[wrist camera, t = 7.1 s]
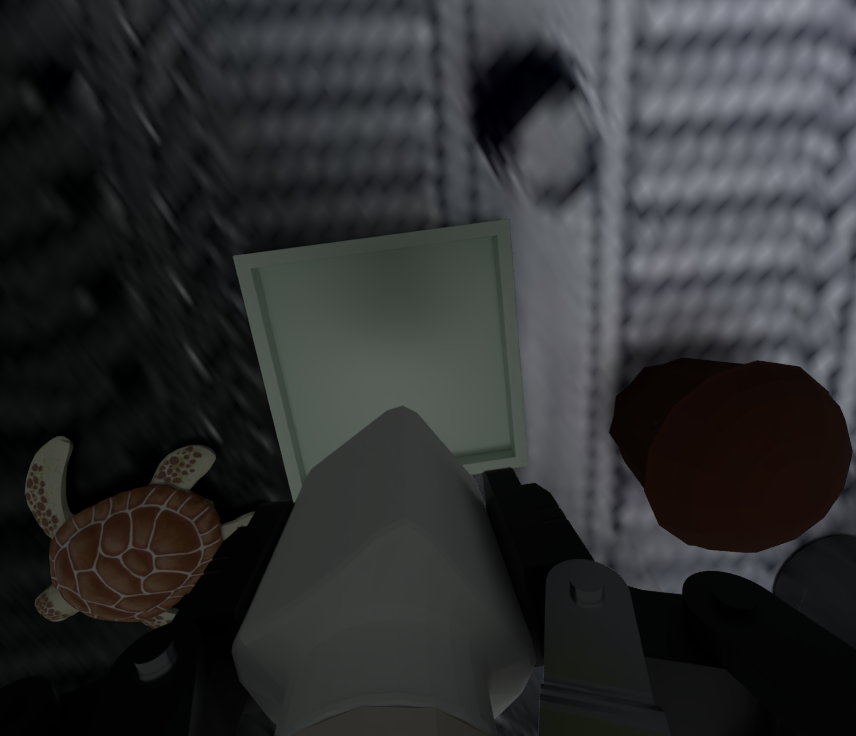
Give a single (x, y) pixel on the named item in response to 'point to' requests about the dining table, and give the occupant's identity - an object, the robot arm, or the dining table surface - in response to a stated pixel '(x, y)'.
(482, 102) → the dining table surface
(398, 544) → the pepper shaker
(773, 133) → the dining table surface
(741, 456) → the muffin
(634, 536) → the dining table surface
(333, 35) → the dining table surface
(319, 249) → the tray
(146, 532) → the decorative turtle
